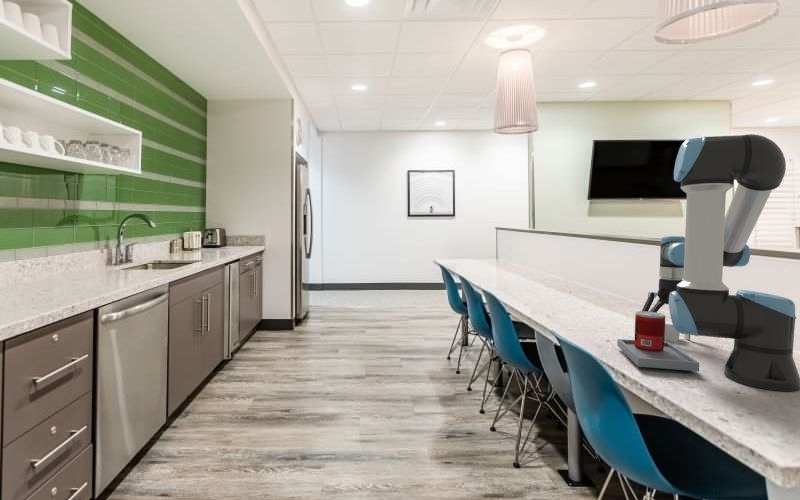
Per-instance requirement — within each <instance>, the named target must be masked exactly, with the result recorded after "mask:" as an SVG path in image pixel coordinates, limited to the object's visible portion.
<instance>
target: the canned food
mask: <svg viewBox="0 0 800 500" xmlns="http://www.w3.org/2000/svg"><path fill="white" fill-rule="evenodd" d="M665 321H666V315H665V314H664V313H660V312H658V311H657V312H649V311H642V310H640V311H636V312H635V319H634V339H633V340H634V345H635V347H636V348H638V349H640V350H644V351H650V352H661V351H663V349H664V342H665V340H664V337H665Z"/></svg>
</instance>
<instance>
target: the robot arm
mask: <svg viewBox="0 0 800 500" xmlns="http://www.w3.org/2000/svg"><path fill="white" fill-rule="evenodd" d="M674 163H675V164H674V169H673V180H674V181H675V182H677V183H680V189H681V190H682V192H684V193H685V194H686V207H685V208H686V210H685V229H684V230H685V234H684V235H685V236H680V235H677V236H676V235H675V236H674V235H665V236H662V237H661V239H660V246H659V247H660V250H659V251H660V252H659V254H660V255H659V271H658V273H659V275H658V276H659V279H658V291H655V292H654V291H651V290H650V291H648V293H647V295H648V296H647V299H646V301H645V303H644V305H643V308H642V309H641V311H648V312H657V313H658V311H659V310H660V309H661V308H662V307H663V306H665V305H668V309H669V310H668V311H669V316H670V319H671V320H670V321H671V322H672V323H673V326H674V328H675V329H676V330H677V331H678V332H679V333H680V334H683V335H684V339H685V340H686V341H690V340H691V336H694V337H698V336H701V337H710V338H721V339H730V340H731V339H732V340H733V341H734V342H733V349H732V351H731V353H730V355H729V357H728V358H727V360H726V362H725V364H724V373H723V375H724V376H725V377H727V378H728V379H730V380H731V381H735V382H736V383H739V384H743V385H747V386H749V387H753V388H754V387H755V388H760V389H764V390H771V391H777V392H778V391H780V392H795V391H799V390H800V373H799V371H798V368H797V365H796V362H795V359H794V356H793V355H794V354H793V353H794V342H795V341H794V339H795V327H796V319H797V316H796V304H795V303H794V301H793V300H792V299H790V298H788V297H784V296H779V295H775V294H770V293H764V292H758V291H752V290H745V289H744V290H743V289H738V290H737V291H736V293H735V295H734V294H729V293H730V288H729V287H728V286H727V285H726V284H724V282H723V270H724V269H723V268H724V267H728V268H733V267H745V266H747V265H748V264H749V263H750V259H751V258H750V257H751V249H750V246H749V245H748V244H747V243H748V240H749V238H750V237H751V235H752V232H753V231H754V229H755V227H756V225H757V222H758V220H759V218H760V216H761V214H762V211H763V209H765V206H766V203H767V202H768V199H769V197H770V196H771V193H772V191H774V190H776V189H778V188H779V187H780V185H781V184H782V182H783V180H784V177H785V176H786V175H785V174H786V167H787V165H786V164H787V162H786V157H785V155H784V153H783V151H782V149H781V147H780V146H778V144H777V143H776V142H775V141H773V140H771V139H770V138H768V137H766V136H764V135H761V134H760V135H759V134H755V133H754V134H752V133H751V134H750V133H749V134H743V135H737V134H736V135H719V136H718V135H717V136H715V135H714V136H703V137H702V136H701V137H695V138H687V139H686V140H685V141H684V142H683V143H682V144H681V145H680V147H679V150H678V153H677V155H676V159H675V162H674ZM735 181H736V183H737V186H736V188H735V192H734V194H733V196H732V198H731V201H730V204H729V207H728V209H727V212H726V197H727V196H726V195H727V192H729V191H730V190H731V189H732V188H733V187H734V182H735ZM657 297H658V299H657V301H656V303H655V304H654V305H653V303H654V300H655V299H656V298H657ZM652 305H653V306H652ZM651 307H652V308H651Z"/></svg>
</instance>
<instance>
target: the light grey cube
mask: <svg viewBox="0 0 800 500" xmlns="http://www.w3.org/2000/svg"><path fill="white" fill-rule="evenodd" d="M680 334H681V333H679V332H678V331H677V330H676V329H675V328H674V326H673V323H672V320H670V321H668V320H665V337H664V341H668V342H677V343H678V342H679V340H680Z"/></svg>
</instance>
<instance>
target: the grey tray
mask: <svg viewBox="0 0 800 500" xmlns="http://www.w3.org/2000/svg"><path fill="white" fill-rule="evenodd" d="M616 346H617V347H618V348H619V349H620V350H621V352H622V353H624V354H625V355H626V356H627V358H629V359H630V360H631V361H632V362H633V363H634V364H635V365H637V367H638V369H644V368H655V369H666V370H681V371H685V372H686V373H692V372H700V362H699V361H697V360H696V359H695V358H693V357H691V356H690V355H688V354H687V353H685V352H684V351H683V350H681V349H680V348H678V347H676V346H675V345H673V344H672V343H670V341H668V342H667V341H666V342H665V341H664V349H663V351H661V352H650V351H644V350H640V349H638V348H636V347H635V345H634V339H625V338H617V345H616Z"/></svg>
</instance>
